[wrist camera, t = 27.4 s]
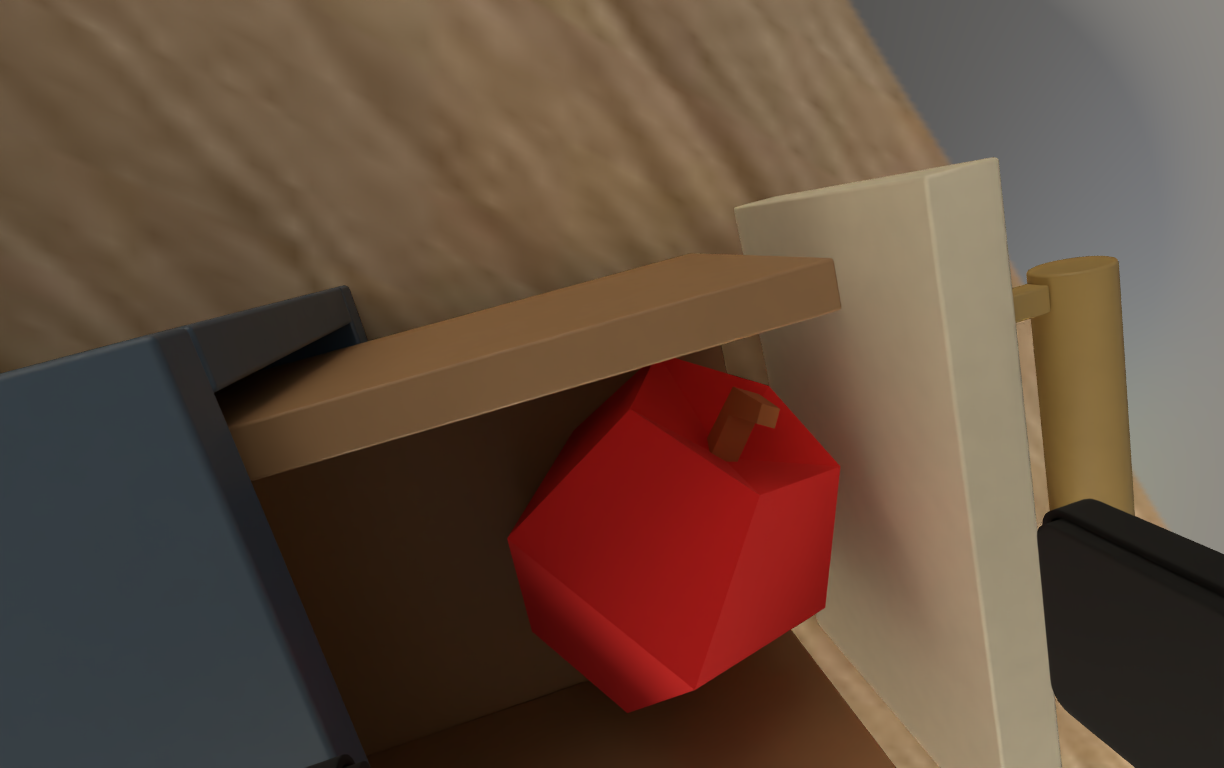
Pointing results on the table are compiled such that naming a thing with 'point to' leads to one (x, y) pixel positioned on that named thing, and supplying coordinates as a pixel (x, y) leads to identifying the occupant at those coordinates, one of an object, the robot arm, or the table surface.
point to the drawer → (816, 394)
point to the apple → (677, 533)
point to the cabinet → (157, 559)
